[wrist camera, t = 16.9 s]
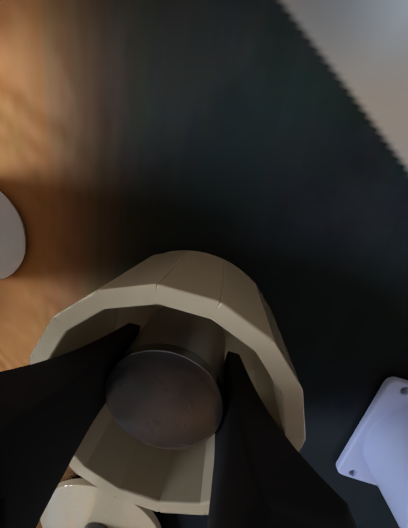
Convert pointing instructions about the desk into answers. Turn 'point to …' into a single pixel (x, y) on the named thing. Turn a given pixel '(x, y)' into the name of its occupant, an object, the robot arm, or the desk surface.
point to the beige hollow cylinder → (237, 341)
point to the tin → (170, 381)
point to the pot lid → (93, 509)
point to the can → (10, 238)
